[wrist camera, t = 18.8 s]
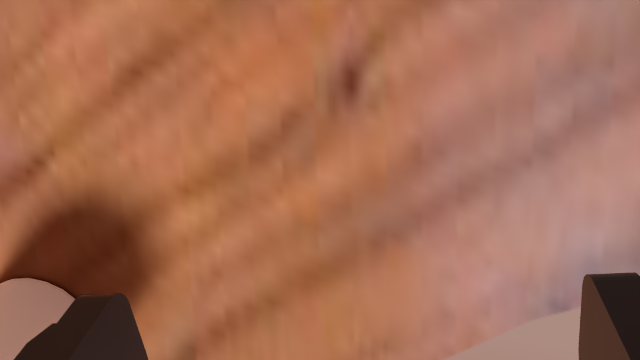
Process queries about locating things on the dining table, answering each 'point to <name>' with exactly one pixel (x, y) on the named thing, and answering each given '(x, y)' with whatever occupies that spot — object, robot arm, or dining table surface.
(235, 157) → the dining table surface
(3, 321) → the can
